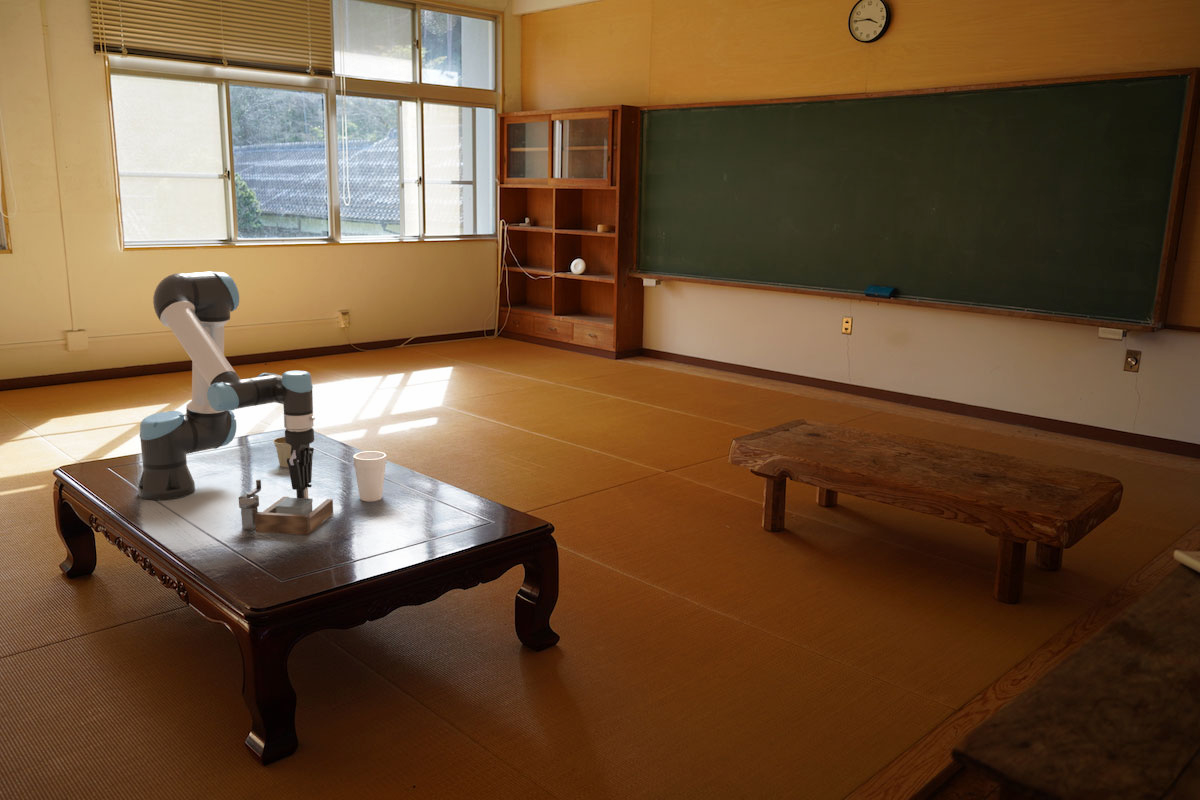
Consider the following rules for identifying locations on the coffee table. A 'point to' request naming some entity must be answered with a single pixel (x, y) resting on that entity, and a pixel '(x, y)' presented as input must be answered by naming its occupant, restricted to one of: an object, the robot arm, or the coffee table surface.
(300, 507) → the gray block
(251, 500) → the winch
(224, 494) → the coffee table surface
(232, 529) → the coffee table surface
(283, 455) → the flower pot
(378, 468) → the foam cup
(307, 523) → the bay
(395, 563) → the coffee table surface
